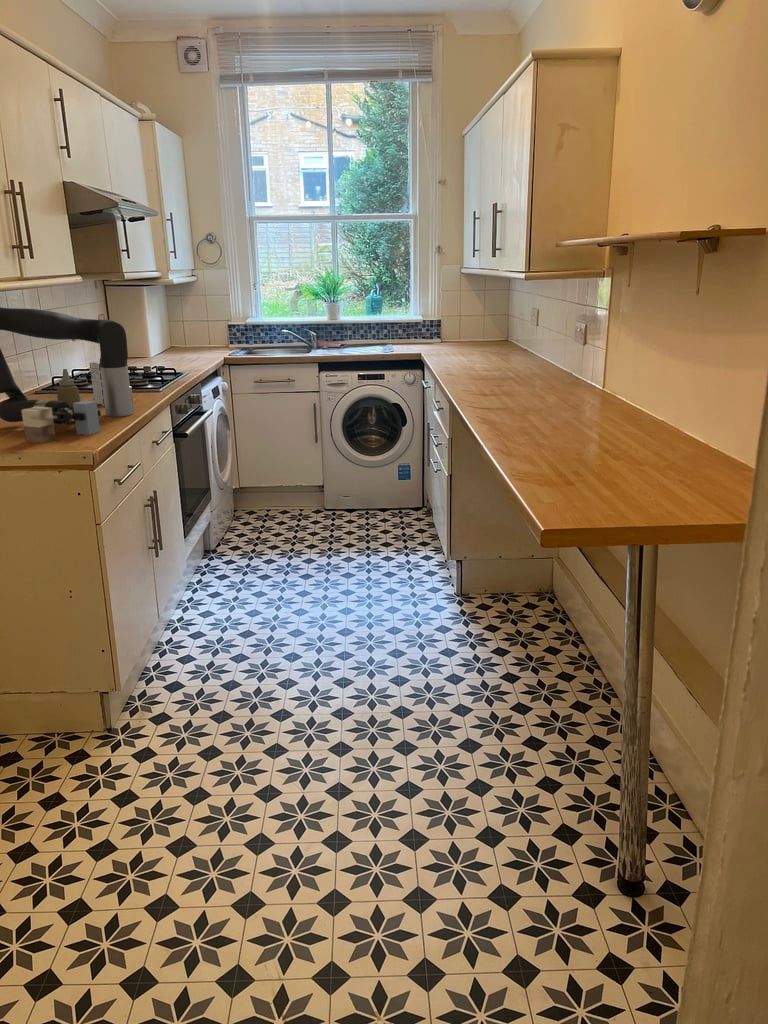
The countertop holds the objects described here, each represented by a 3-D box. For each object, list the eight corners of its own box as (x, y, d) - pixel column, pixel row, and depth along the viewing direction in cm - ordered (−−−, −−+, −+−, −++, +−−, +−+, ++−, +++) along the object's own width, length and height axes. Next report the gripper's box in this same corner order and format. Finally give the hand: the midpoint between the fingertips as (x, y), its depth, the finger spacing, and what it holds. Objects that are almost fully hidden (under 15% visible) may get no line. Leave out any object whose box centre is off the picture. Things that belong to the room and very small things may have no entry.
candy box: (122, 399, 309) (117, 358, 304) (132, 400, 306) (127, 358, 301) (93, 404, 298) (88, 361, 293) (104, 406, 295) (98, 362, 290)
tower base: (41, 438, 242) (38, 422, 240) (55, 439, 240) (53, 423, 238) (26, 442, 237) (23, 426, 235) (41, 443, 234) (38, 427, 233)
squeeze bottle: (55, 421, 267) (48, 369, 261) (78, 418, 272) (71, 367, 266) (65, 424, 261) (57, 371, 256) (88, 421, 267) (81, 369, 261)
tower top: (38, 422, 240) (36, 406, 239) (53, 423, 238) (51, 407, 237) (23, 426, 235) (21, 409, 233) (38, 427, 233) (36, 411, 231)
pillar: (88, 431, 251) (84, 400, 248) (100, 432, 250) (96, 401, 247) (77, 434, 247) (72, 403, 244) (89, 435, 245) (85, 404, 242)
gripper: (32, 404, 244) (74, 407, 238) (66, 396, 257) (106, 399, 251) (36, 427, 246) (77, 431, 240) (69, 419, 259) (109, 422, 253)
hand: (92, 415), depth 246 cm, fingers open, 6 cm apart
